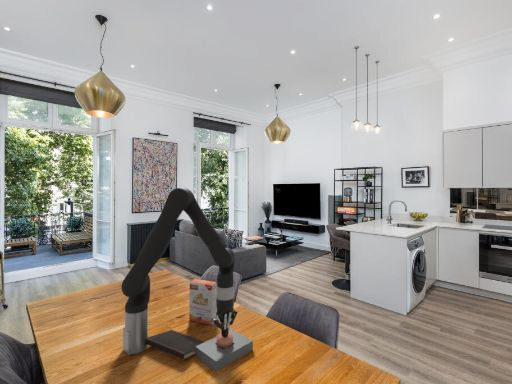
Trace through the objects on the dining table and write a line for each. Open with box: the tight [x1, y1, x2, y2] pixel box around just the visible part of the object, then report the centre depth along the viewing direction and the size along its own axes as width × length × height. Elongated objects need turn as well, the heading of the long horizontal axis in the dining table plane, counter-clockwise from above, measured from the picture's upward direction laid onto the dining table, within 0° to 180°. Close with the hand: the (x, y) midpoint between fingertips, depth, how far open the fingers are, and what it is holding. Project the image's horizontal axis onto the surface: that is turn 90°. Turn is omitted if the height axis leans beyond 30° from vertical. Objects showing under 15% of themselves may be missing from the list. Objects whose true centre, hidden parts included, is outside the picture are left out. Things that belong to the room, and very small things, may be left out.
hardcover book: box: [146, 329, 205, 361], centre depth 120 cm, size 16×23×2 cm
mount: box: [194, 328, 254, 373], centre depth 117 cm, size 20×14×4 cm
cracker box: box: [188, 278, 217, 326], centre depth 145 cm, size 14×6×21 cm, turn 69°
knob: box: [216, 332, 233, 349], centre depth 117 cm, size 7×7×6 cm
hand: (225, 336), depth 117 cm, fingers closed
